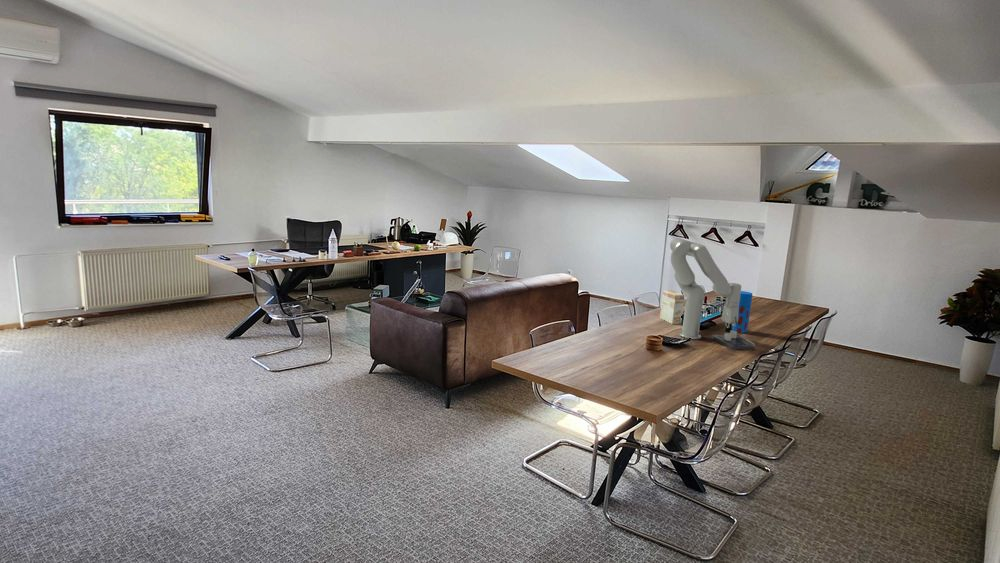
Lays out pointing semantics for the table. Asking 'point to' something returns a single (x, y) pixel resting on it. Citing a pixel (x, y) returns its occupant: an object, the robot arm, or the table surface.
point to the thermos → (743, 312)
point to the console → (734, 342)
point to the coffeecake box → (671, 306)
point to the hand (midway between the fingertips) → (728, 333)
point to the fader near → (727, 336)
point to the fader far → (733, 333)
